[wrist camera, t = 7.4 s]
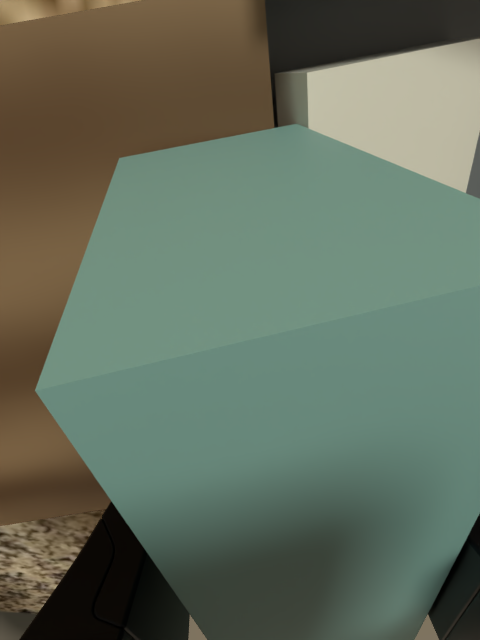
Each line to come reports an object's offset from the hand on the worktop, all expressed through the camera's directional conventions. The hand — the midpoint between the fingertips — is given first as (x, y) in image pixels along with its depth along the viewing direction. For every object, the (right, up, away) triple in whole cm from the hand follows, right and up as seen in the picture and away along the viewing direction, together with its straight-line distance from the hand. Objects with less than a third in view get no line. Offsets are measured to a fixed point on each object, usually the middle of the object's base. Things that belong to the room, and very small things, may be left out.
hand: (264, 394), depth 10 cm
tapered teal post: (-1, +1, +2) cm, 2 cm away
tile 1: (+3, +7, 0) cm, 7 cm away
